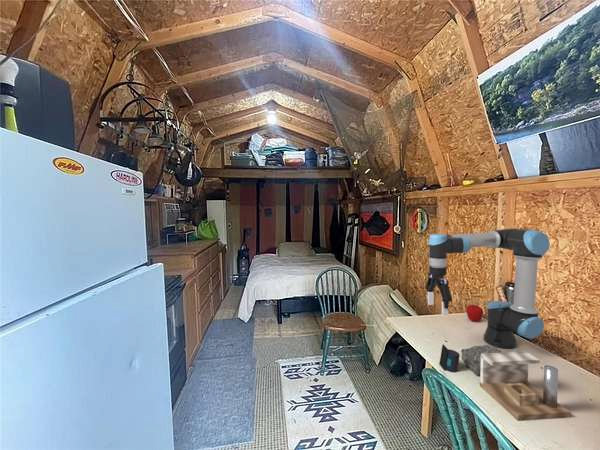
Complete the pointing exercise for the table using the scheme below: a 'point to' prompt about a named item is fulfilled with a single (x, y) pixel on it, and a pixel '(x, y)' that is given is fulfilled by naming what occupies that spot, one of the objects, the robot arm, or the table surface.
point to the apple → (474, 313)
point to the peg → (550, 386)
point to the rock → (476, 356)
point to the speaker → (449, 359)
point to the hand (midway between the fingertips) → (437, 309)
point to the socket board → (515, 386)
